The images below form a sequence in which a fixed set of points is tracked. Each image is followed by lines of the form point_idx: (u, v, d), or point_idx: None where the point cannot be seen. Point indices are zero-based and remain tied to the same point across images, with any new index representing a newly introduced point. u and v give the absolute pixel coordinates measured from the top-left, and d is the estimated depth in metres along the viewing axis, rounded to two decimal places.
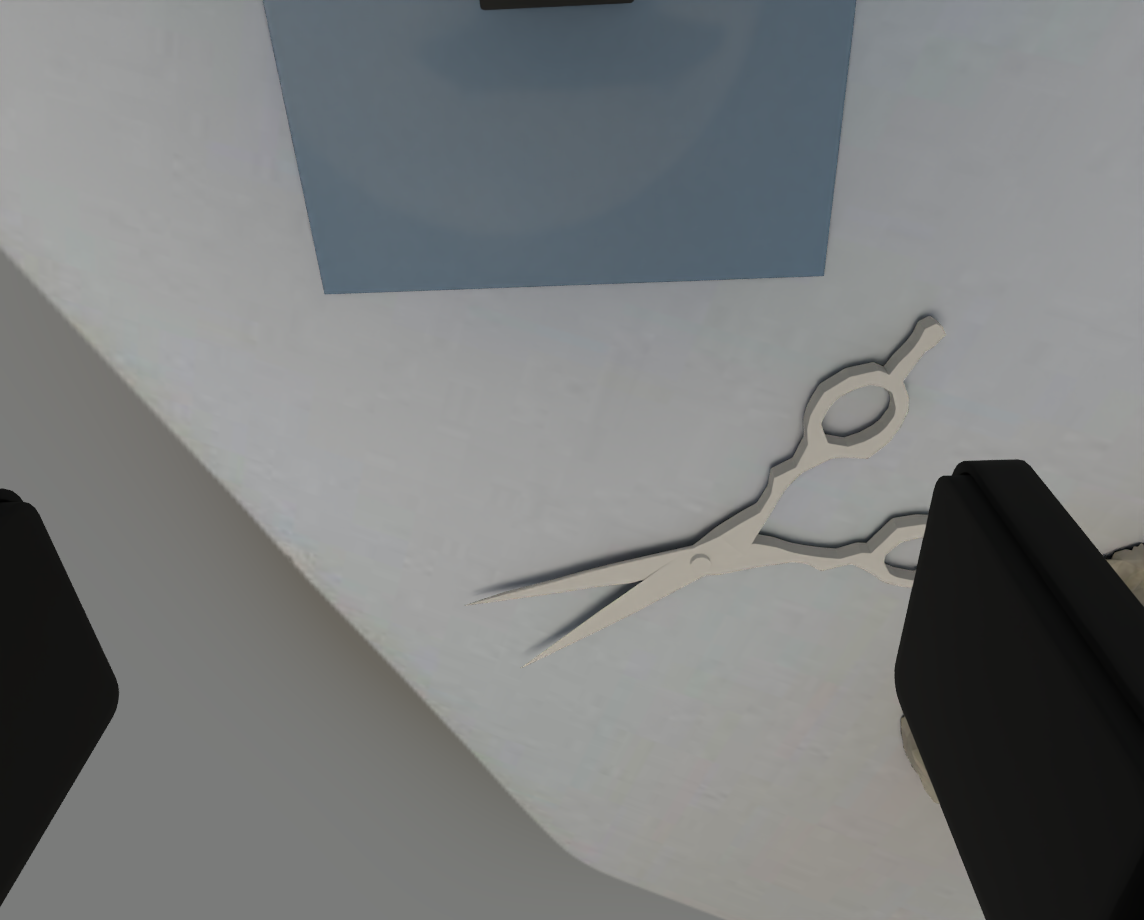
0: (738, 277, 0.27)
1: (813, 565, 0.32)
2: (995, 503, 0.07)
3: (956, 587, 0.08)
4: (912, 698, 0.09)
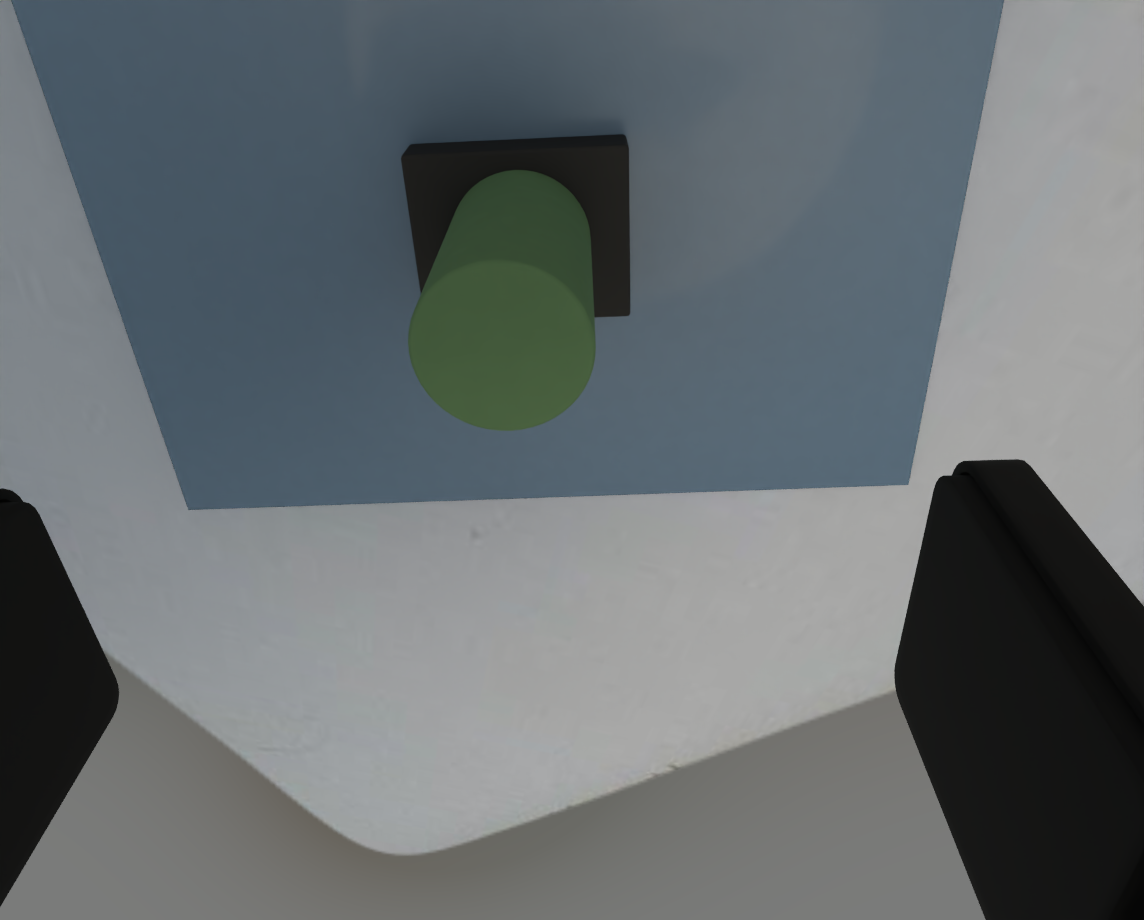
0: None
1: None
2: (995, 503, 0.07)
3: (956, 587, 0.08)
4: (913, 699, 0.09)
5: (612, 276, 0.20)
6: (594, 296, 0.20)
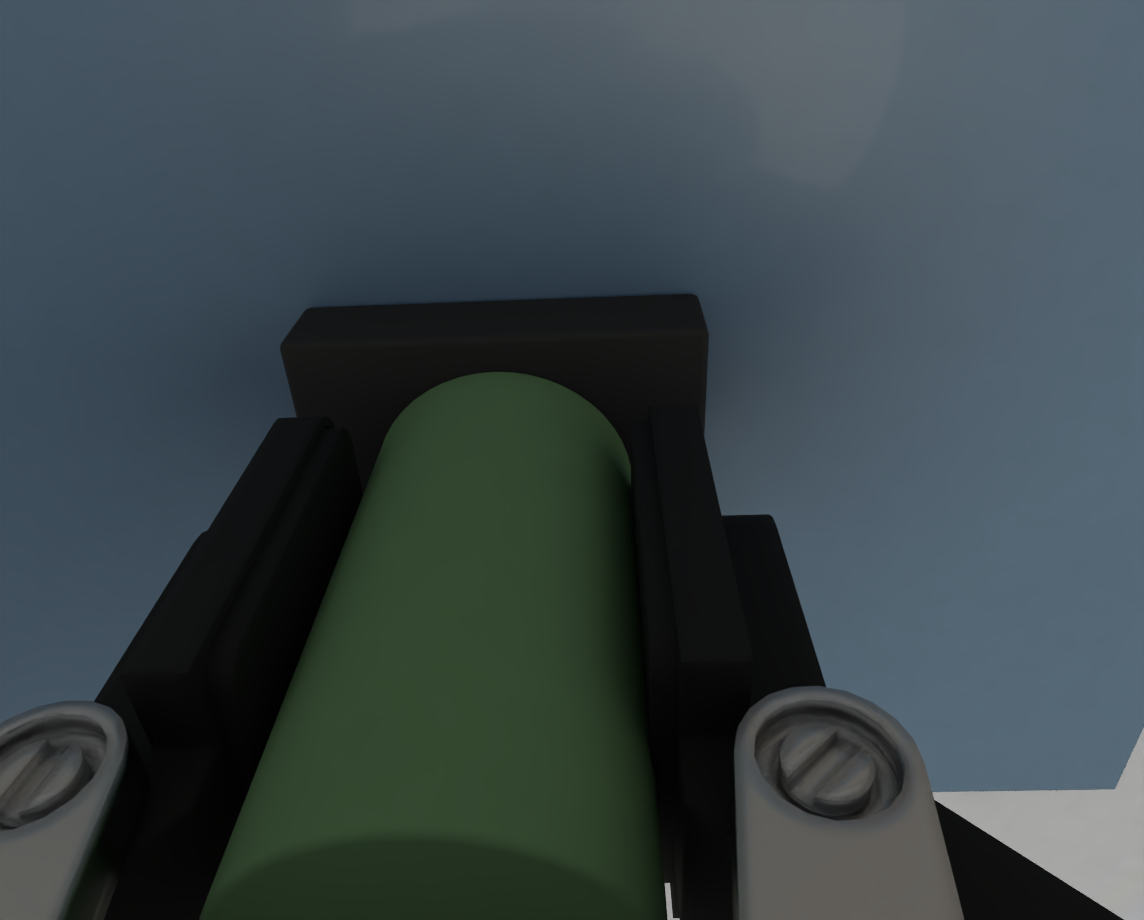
0: None
1: None
2: (653, 439, 0.09)
3: (634, 514, 0.09)
4: None
5: None
6: None
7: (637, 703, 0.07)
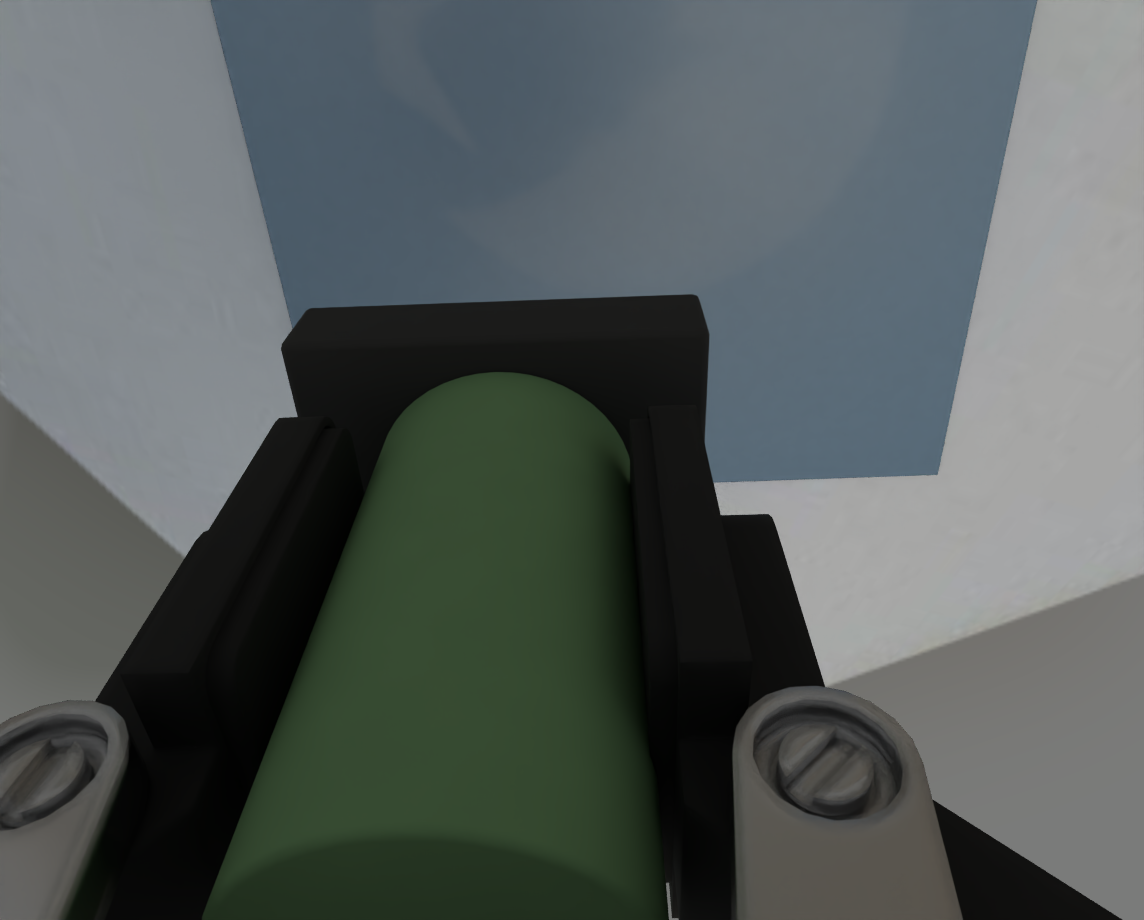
0: (1025, 47, 0.22)
1: None
2: (653, 438, 0.09)
3: (633, 514, 0.09)
4: None
5: None
6: None
7: (638, 703, 0.07)
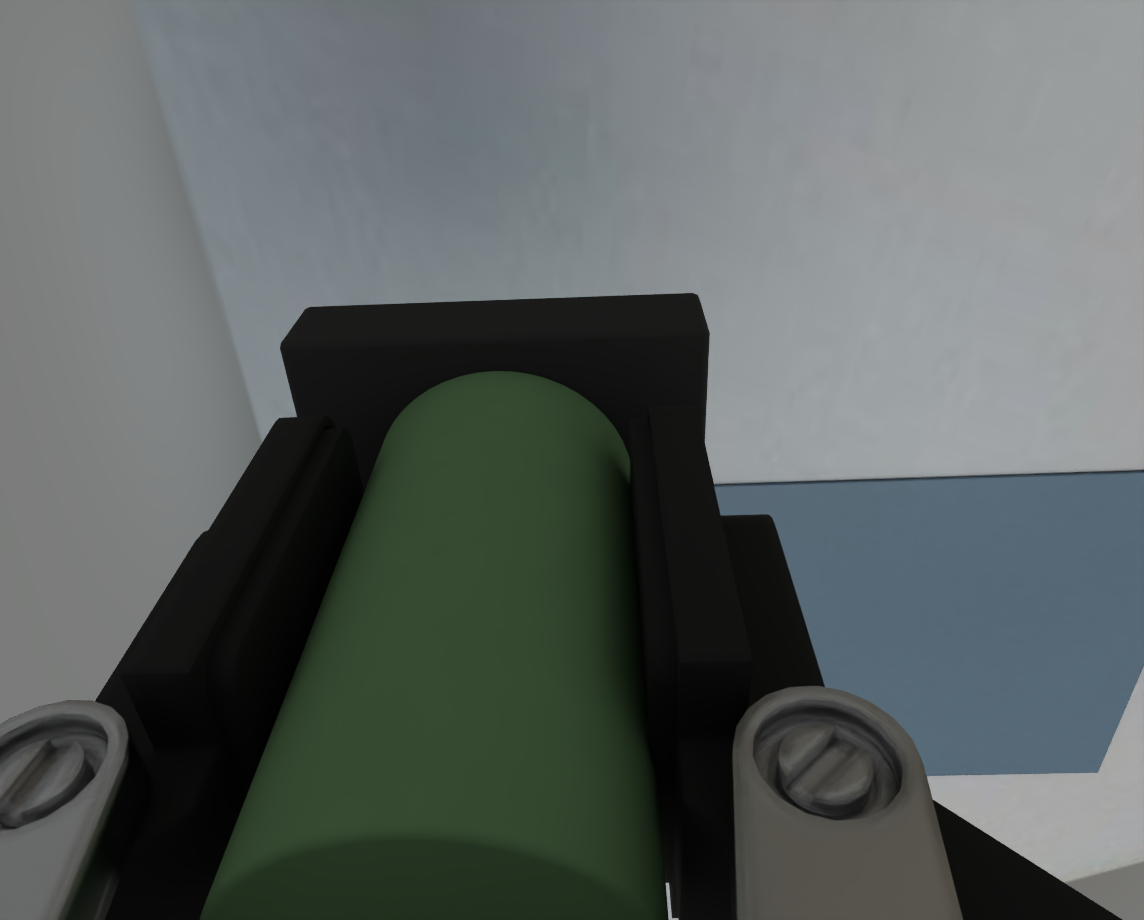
0: None
1: None
2: (652, 439, 0.09)
3: (633, 514, 0.09)
4: None
5: None
6: None
7: (638, 702, 0.07)
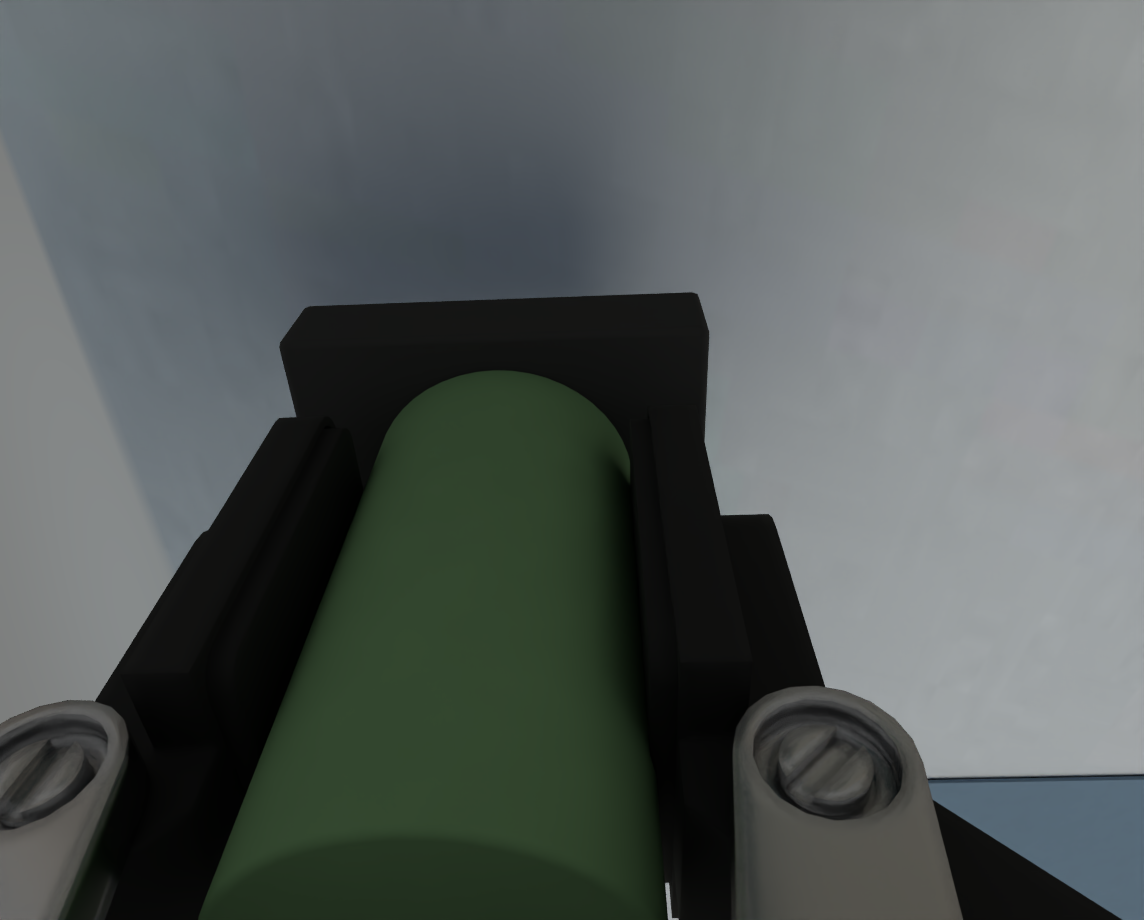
0: None
1: None
2: (652, 439, 0.09)
3: (632, 514, 0.09)
4: None
5: None
6: None
7: (637, 702, 0.07)
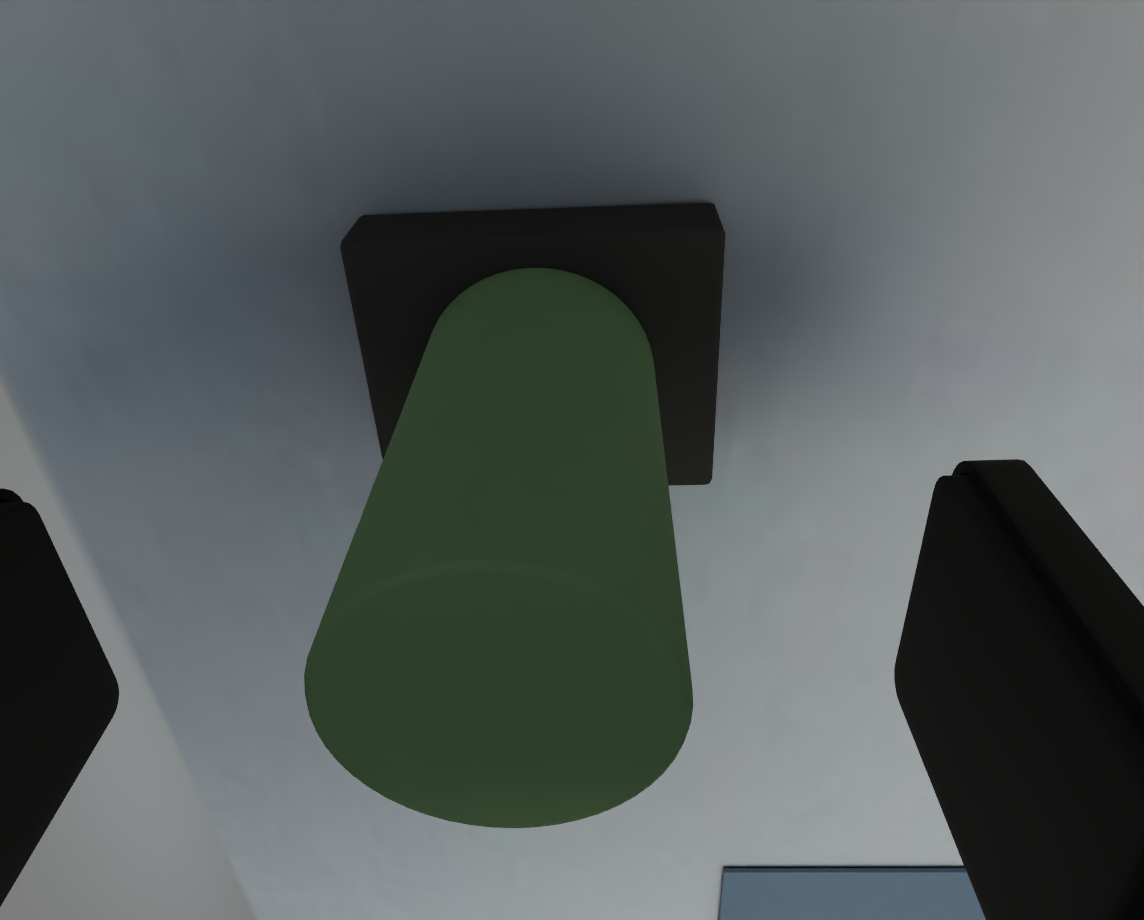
0: None
1: None
2: (995, 503, 0.07)
3: (956, 587, 0.08)
4: (913, 699, 0.09)
5: (688, 428, 0.12)
6: None
7: (663, 518, 0.08)
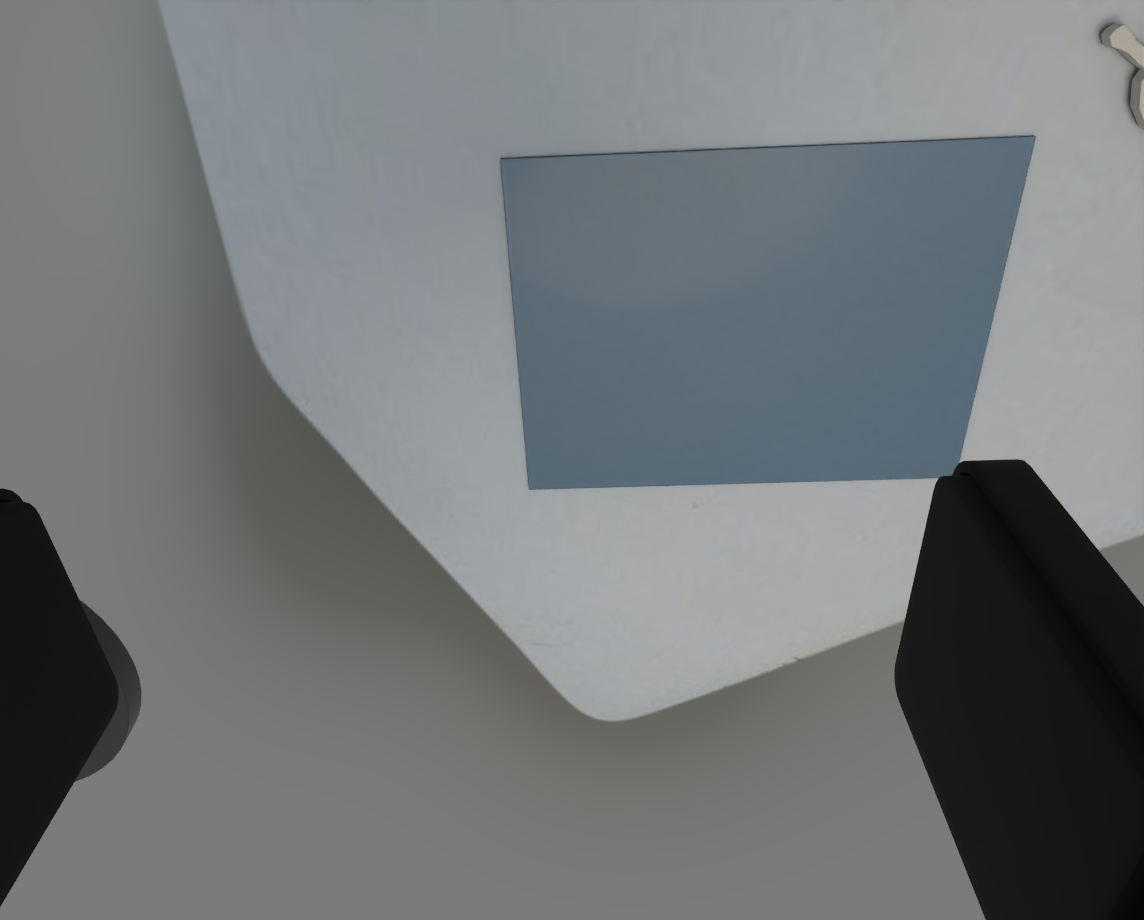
0: (1018, 206, 0.35)
1: None
2: (995, 503, 0.07)
3: (956, 587, 0.08)
4: (913, 699, 0.09)
5: None
6: None
7: None
